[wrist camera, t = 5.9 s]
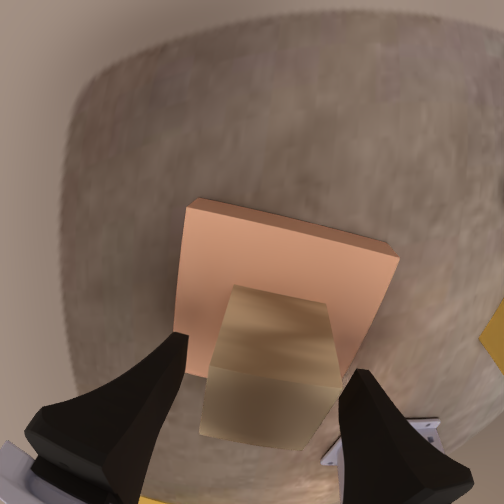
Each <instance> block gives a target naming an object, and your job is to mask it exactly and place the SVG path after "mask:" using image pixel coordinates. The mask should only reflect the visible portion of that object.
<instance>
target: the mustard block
mask: <svg viewBox="0 0 504 504" xmlns="http://www.w3.org/2000/svg"><path fill="white" fill-rule="evenodd" d="M478 339H479V340H480V342H481V343H482V344H483V346H484V347H485V349H486V350H487V351H488V353H489V354H490V356H491V357H492V359H493V360H494V362H495V363H496V365H497V366H498V368H499V369H500V371H501V372H502V374H503V375H504V298H503V300H502V302H501V304H500V305H499V307H498V309H497V310H496V312H495V314H494V315H493V317H492V318H491V320H490V322H489V323H488V325H487V326H486V328H485V329H484V331H483V332H482V334H481V335H480V337H479V338H478Z"/></svg>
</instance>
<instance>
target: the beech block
mask: <svg viewBox="0 0 504 504" xmlns="http://www.w3.org/2000/svg"><path fill="white" fill-rule="evenodd" d="M342 390H343V384H342V379H341V374H340V368H339V363H338V358H337V353H336V348H335V343H334V338H333V333H332V329H331V324H330V320H329V315H328V310H327V306H326V304H325V303H320V302H315V301H310V300H305V299H300V298H295V297H290V296H286V295H281V294H276V293H271V292H267V291H262V290H257V289H253V288H248V287H244V286H239V285H235V284H234V286H233V289H232V292H231V295H230V299H229V302H228V305H227V309H226V312H225V315H224V318H223V322H222V325H221V328H220V332H219V335H218V338H217V342H216V345H215V348H214V351H213V355H212V358H211V361H210V365H209V370H208V377H207V383H206V390H205V396H204V403H203V409H202V416H201V423H200V430H199V434H201V435H205V436H210V437H214V438H219V439H223V440H228V441H233V442H239V443H244V444H250V445H256V446H263V447H270V448H278V449H287V450H296V451H302V450H303V449H304V448H305V446H306V445H307V443H308V442H309V441H310V439H311V438H312V436H313V435H314V433H315V432H316V431H317V429H318V428H319V426H320V425H321V423H322V422H323V420H324V419H325V417H326V415H327V414H328V412H329V411H330V409H331V408H332V406H333V404H334V403H335V401H336V400H337V398H338V396H339V395H340V393H341V391H342Z"/></svg>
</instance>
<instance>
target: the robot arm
mask: <svg viewBox="0 0 504 504" xmlns="http://www.w3.org/2000/svg"><path fill="white" fill-rule="evenodd" d="M188 342H189V335H186V334H182V333H179V332H173V333H172V334H171V335H170V336H169V337H168V338H167V339H166V340H165V341H164V342H163V343H162V344H161V345H159V346H158V347H157V348H156V349H155V350H154V351H153V352H152V353H150V354H149V355H148V356H147V357H146V358H144V359H143V360H142V361H141V362H139V363H138V364H137V365H135V366H134V367H132V368H131V369H130V370H128V371H127V372H125V373H124V374H122V375H121V376H119V377H118V378H116V379H114V380H113V381H111V382H109V383H107V384H105V385H103V386H101V387H99V388H97V389H95V390H93V391H91V392H89V393H86V394H84V395H81V396H78V397H76V398H73V399H70V400H67V401H64V402H60V403H56V404H53V405H48V406H44V407H42V408H41V409H40V410H39V411H38V412H37V413H36V414H35V416H34V417H33V419H32V420H31V422H30V423H29V424H28V426H27V427H26V429H25V430H24V432H25V437H26V438H27V440H28V442H29V443H30V444H31V446H32V447H33V448H34V450H35V451H36V452H37V454H38V457H37V458H36V460H34V459H33V458H32V457H31V456H30V455H28V454H27V453H25V452H24V451H23V450H21V449H20V448H18V447H17V446H15V445H14V444H13V443H11V442H10V441H7V440H6V441H5V443H4V445H3V446H2V448H1V449H0V499H1V500H2V501H3V502H4V503H6V504H138V501H139V498H140V494H141V490H142V486H143V482H144V479H145V475H146V472H147V468H148V465H149V462H150V459H151V455H152V452H153V449H154V446H155V443H156V440H157V437H158V434H159V432H160V429H161V427H162V425H163V423H164V421H165V418H166V416H167V414H168V412H169V410H170V408H171V406H172V403H173V401H174V399H175V397H176V395H177V393H178V390H179V388H180V385H181V382H182V379H183V376H184V373H185V370H186V361H187V351H188ZM338 411H339V425H340V433H341V437H340V438H339V439H338V441H337V442H336V443H335V444H334V445H333V447H332V448H331V449H330V450H329V451H328V452H327V454H326V455H325V456H324V457H323V458H322V459H321V461H320V462H321V464H322V465H337V466H338V478H339V492H340V504H451V503H452V502H454V501H455V500H457V499H458V498H459V497H461V496H463V495H464V494H465V493H467V492H468V491H469V490H470V489H471V488H472V487H473V485H474V481H473V477H472V474H471V471H470V469H469V468H467V467H465V466H463V465H462V464H460V463H458V462H456V461H454V460H453V459H451V458H449V457H448V456H447V455H445V452H444V449H443V446H442V444H441V441H440V438H439V435H438V432H437V429H436V427H437V426H438V425H439V424H440V419H416V420H406V418H405V417H404V416H403V415H402V414H401V413H400V411H399V410H398V409H397V408H396V406H395V405H394V404H393V402H392V401H391V400H390V398H389V397H388V396H387V394H386V393H385V391H384V390H383V389H382V387H381V386H380V384H379V383H378V382H377V380H376V379H375V378H374V376H373V375H372V374H371V372H370V371H369V370H364V369H356V370H355V372H354V374H353V375H352V377H351V379H350V380H349V382H348V384H347V385H346V387H345V389H344V390H343V392H342V394H341V395H340V397H339V408H338Z"/></svg>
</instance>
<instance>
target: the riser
mask: <svg viewBox="0 0 504 504" xmlns="http://www.w3.org/2000/svg"><path fill="white" fill-rule="evenodd" d="M399 260H400V257H399V256H398V255H397V254H396V253H395V252H394V250H393V249H392V248H391V247H390V246H389V245H388V244H387V243H385V242H382V241H378V240H374V239H371V238H367V237H363V236H359V235H356V234H352V233H348V232H344V231H340V230H337V229H333V228H329V227H325V226H321V225H317V224H313V223H309V222H305V221H301V220H297V219H293V218H288V217H284V216H280V215H276V214H271V213H267V212H263V211H258V210H254V209H250V208H245V207H241V206H236V205H232V204H227V203H222V202H218V201H213V200H208V199H203V198H199V197H198V198H197V199H196V200H195V201H194V202H192V203H191V204H190V205H189V206H187V208H186V215H185V223H184V230H183V238H182V246H181V254H180V263H179V272H178V282H177V292H176V303H175V315H174V328H173V332H179V333H182V334H186V335H189V342H188V351H187V361H186V370H185V372H186V373H190V374H194V375H197V376H201V377H205V378H207V377H208V370H209V365H210V361H211V358H212V355H213V351H214V348H215V345H216V342H217V338H218V335H219V332H220V328H221V325H222V322H223V318H224V315H225V312H226V309H227V305H228V302H229V299H230V295H231V292H232V289H233V286H234V284H235V285H239V286H244V287H248V288H253V289H257V290H262V291H267V292H271V293H276V294H281V295H286V296H290V297H295V298H300V299H305V300H310V301H315V302H320V303H325V304H326V306H327V310H328V315H329V320H330V324H331V329H332V333H333V338H334V343H335V348H336V353H337V358H338V363H339V368H340V374H341V379H342V378H343V376H344V375H345V373H346V371H347V369H348V368H349V366H350V364H351V362H352V360H353V358H354V357H355V355H356V353H357V351H358V349H359V347H360V345H361V343H362V341H363V339H364V337H365V335H366V333H367V331H368V329H369V327H370V325H371V323H372V321H373V319H374V317H375V315H376V313H377V311H378V309H379V306H380V304H381V302H382V300H383V298H384V295H385V293H386V291H387V289H388V286H389V284H390V282H391V279H392V277H393V274H394V272H395V270H396V267H397V265H398V262H399Z"/></svg>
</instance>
